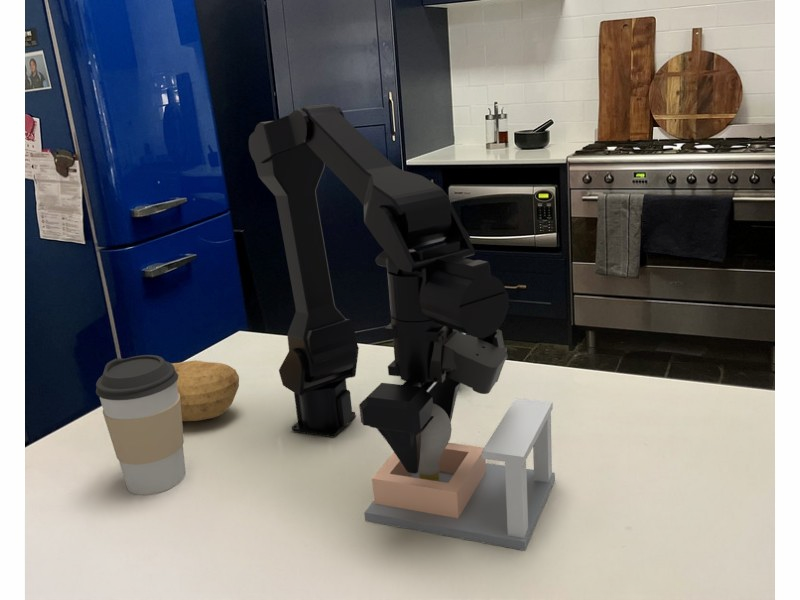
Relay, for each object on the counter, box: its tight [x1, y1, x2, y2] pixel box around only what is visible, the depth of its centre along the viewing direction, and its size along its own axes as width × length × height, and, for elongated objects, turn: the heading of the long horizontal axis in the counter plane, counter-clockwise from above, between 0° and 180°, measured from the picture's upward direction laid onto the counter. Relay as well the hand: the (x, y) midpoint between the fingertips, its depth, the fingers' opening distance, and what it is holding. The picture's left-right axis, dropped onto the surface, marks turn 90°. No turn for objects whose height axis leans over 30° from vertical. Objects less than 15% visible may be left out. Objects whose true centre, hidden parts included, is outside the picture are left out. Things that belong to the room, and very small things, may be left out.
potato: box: [170, 359, 240, 422], centre depth 106 cm, size 10×14×8 cm
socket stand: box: [363, 397, 556, 551], centre depth 81 cm, size 17×13×10 cm
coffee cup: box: [95, 354, 186, 496], centre depth 90 cm, size 9×9×15 cm
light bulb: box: [418, 404, 452, 481], centre depth 82 cm, size 6×6×10 cm
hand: (429, 450), depth 82 cm, fingers open, 9 cm apart
